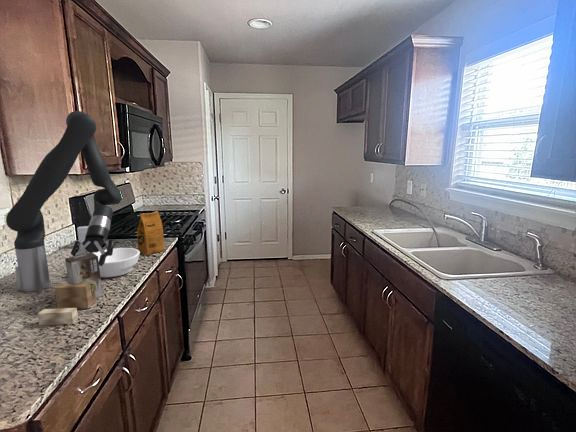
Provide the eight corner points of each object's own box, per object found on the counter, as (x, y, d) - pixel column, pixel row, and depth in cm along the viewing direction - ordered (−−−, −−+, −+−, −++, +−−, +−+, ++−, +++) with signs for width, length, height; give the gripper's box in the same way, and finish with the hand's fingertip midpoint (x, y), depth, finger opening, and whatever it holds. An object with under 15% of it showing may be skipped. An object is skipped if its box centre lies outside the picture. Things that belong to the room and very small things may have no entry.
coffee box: (96, 291, 127) (92, 252, 124) (103, 296, 123) (98, 255, 120) (70, 299, 121) (64, 257, 117) (76, 304, 116) (70, 261, 113)
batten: (39, 325, 103) (37, 313, 102) (45, 320, 105) (43, 309, 105) (73, 323, 104) (71, 312, 103) (78, 319, 106) (76, 307, 106)
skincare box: (93, 245, 189) (91, 225, 187) (91, 247, 185) (89, 227, 183) (81, 246, 187) (78, 226, 185) (79, 248, 183) (76, 228, 181)
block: (57, 309, 112) (54, 287, 111) (66, 302, 117) (63, 281, 116) (88, 308, 113) (85, 286, 112) (95, 301, 118) (93, 280, 117)
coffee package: (135, 252, 177) (132, 212, 172) (157, 247, 186) (154, 209, 182) (145, 256, 170) (141, 215, 166) (166, 250, 180) (163, 211, 176)
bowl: (76, 274, 146) (74, 256, 144) (126, 261, 163) (125, 245, 162) (99, 286, 132) (97, 267, 131) (151, 270, 150) (149, 253, 148)
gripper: (75, 224, 128) (63, 262, 119) (113, 223, 130) (104, 260, 121) (84, 234, 134) (73, 270, 125) (120, 233, 136) (111, 268, 127)
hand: (88, 265), depth 123 cm, fingers open, 8 cm apart
